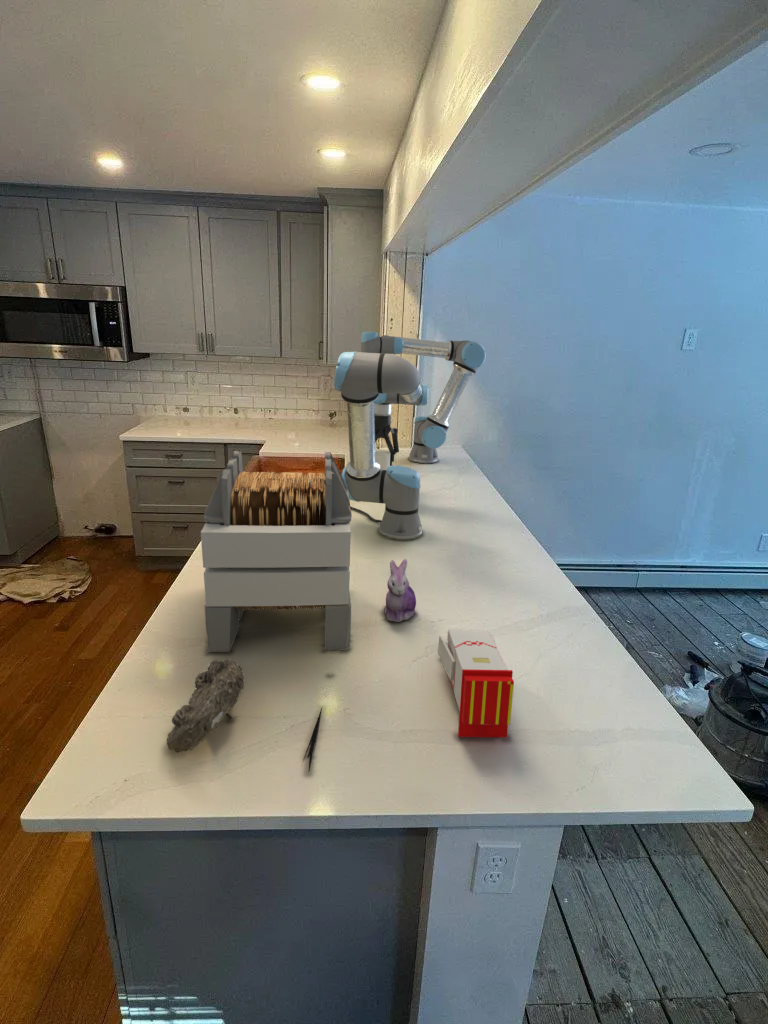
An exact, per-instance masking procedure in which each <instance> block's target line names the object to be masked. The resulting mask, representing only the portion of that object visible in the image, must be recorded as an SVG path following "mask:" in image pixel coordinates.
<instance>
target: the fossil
mask: <svg viewBox="0 0 768 1024" xmlns="http://www.w3.org/2000/svg"><path fill="white" fill-rule="evenodd" d="M243 670H244V669H243V667H242V665H240V664H237V662H236V661H235V660H234V659H232V658H231V659H227V658H226V659H224V660H223V661H222V660H217V659H212V660H211V661H210V663H209V665H208V666H207V671H201V672H199V673H198V674H197V675H196V676H195V680H194V684H195V685H194V687H195V689H194V690H193V693H192V694H191V697H190V698H189V700H188V704H184V705H182V706H181V707H180V709H177V710H176V711H175V713H174V715H173V716H172V718H171V723H172V724H173V727H172V730H171V731H170V732H168V734H167V738H166V741H167V742H166V745H167V749H168V750H169V751H173V752H174V753H176V754H178V753H182V752H188V751H189V752H192V751H193V750H195V748H196V747H197V746H199V744H200V743H201V742H203V741H204V740H205V739H206V738H207V737H208V736H209V735H210V734H211V733H212V732H214V730H215V729H217V727H218V726H219V724H220V722H221V721H222V720H223V719H224V718H225V716H226V717H227V719H229V720H233V717H232V715H230V714H229V710H230V709H231V708H234V706H235V704H236V703H237V702H238V699H239V697H240V695H241V693H242V691H243V690H245V689H244V688H245V675H244V671H243Z"/></svg>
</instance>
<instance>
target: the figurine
mask: <svg viewBox="0 0 768 1024" xmlns="http://www.w3.org/2000/svg"><path fill="white" fill-rule="evenodd" d="M407 567H408V559H406V558H404V559H403V560H402V561H401V563H400V565H399V566H398V565H397V563H396V562H395V561H394V560H393V559H391V560H390V561H389V570H390V576H389V578H388V579H387V589H388V591H387V592H386V594H385V595H386V596H385V607H384V615H385V616H386V620H387V621H391V622H395V623H400V622H402V621H406V620H409V619H410V618H411V617H413V616H414V615H415V610H416V606H417V597H416V593H415V591H414V590H413V587H411V586H410V582H409V579H408V577H407V574H406V571H407Z"/></svg>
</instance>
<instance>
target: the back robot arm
mask: <svg viewBox="0 0 768 1024" xmlns="http://www.w3.org/2000/svg"><path fill="white" fill-rule="evenodd" d="M360 340H361V341H360V352H364V353H381V354H393V355H401V354H403V355H411V356H420V357H421V356H422V357H430V358H440V359H445V361H447V362H448V361H449V362H452V366H453V369H452V372H451V375H450V376H449V379H448V380H447V383H446V385H445V387H444V389H443V391H442V393H441V395H440V397H439V399H438V402H437V404H436V405H435V408H434V410H433V412H432V414H429V415H428V416H416V417H414V422H413V423H414V425H413V426H414V427H413V442H412V443H413V444H412V447H411V449H410V452H409V456H408V460H409V461H410V462H413V463H417V464H427V465H428V464H434V463H435V464H436V463H438V461H439V455H438V451H437V449H438V448H440V447H442V446H443V445H444V444H445V442H446V440H447V432H448V430H449V428H450V425H449V421H450V419H451V417H452V414H453V413H454V410H455V409H456V406H457V404H458V402H459V400H460V398H461V396H462V394H463V392H464V390H465V389H466V386H467V384H468V382H469V381H470V378H471V377H472V376H475V375H476V372H477V371H478V369H479V368H480V367H481V366H483V364H484V363H485V361H486V357H487V353H486V349H485V348H484V346H483V345H482V344H480V343H479V342H477V341H471V340H448V341H437V340H429V339H420V338H411V337H401V336H391V335H386V334H383V335H381V336H379V334H378V332H376V331H363V332H362V333H361V339H360Z"/></svg>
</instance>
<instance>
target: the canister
mask: <svg viewBox="0 0 768 1024" xmlns="http://www.w3.org/2000/svg"><path fill="white" fill-rule="evenodd" d="M375 460H376V461H377V462H378V463H379V465H380V470H387V468H388V467H389V466H390V451H389V450H384V449H375Z"/></svg>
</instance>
